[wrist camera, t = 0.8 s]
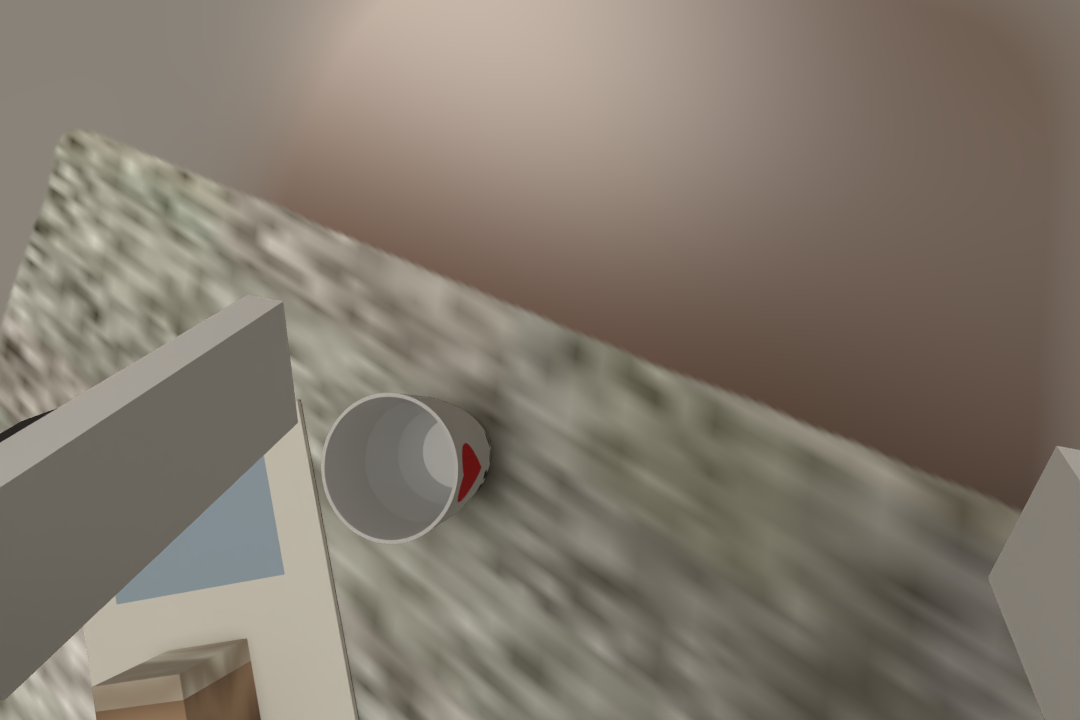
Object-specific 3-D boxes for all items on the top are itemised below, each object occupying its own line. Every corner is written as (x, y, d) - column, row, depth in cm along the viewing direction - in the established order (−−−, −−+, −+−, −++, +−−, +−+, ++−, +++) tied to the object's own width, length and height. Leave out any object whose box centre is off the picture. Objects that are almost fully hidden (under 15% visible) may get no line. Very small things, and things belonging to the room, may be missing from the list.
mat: (378, 828, 48) (375, 832, 47) (121, 847, 53) (116, 851, 52) (300, 399, 50) (296, 399, 50) (62, 458, 56) (58, 458, 55)
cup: (467, 536, 47) (401, 575, 37) (380, 462, 49) (295, 481, 39) (536, 439, 46) (487, 454, 36) (444, 368, 48) (373, 363, 38)
